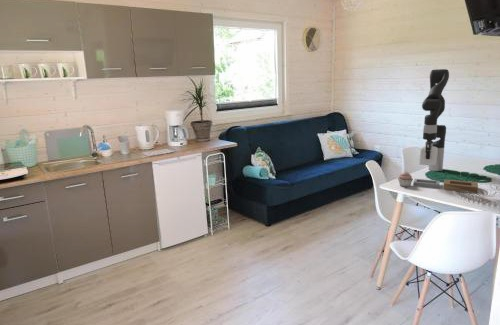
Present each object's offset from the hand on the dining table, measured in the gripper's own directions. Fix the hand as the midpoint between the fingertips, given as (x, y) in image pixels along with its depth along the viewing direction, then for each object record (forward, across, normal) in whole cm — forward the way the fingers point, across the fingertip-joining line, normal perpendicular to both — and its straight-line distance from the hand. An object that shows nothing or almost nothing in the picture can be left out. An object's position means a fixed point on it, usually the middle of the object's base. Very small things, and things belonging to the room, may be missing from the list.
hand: (428, 158), depth 228 cm
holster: (+18, 0, 0) cm, 18 cm away
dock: (+18, 0, +19) cm, 26 cm away
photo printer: (+5, 0, 0) cm, 5 cm away
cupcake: (+18, +6, -12) cm, 23 cm away
